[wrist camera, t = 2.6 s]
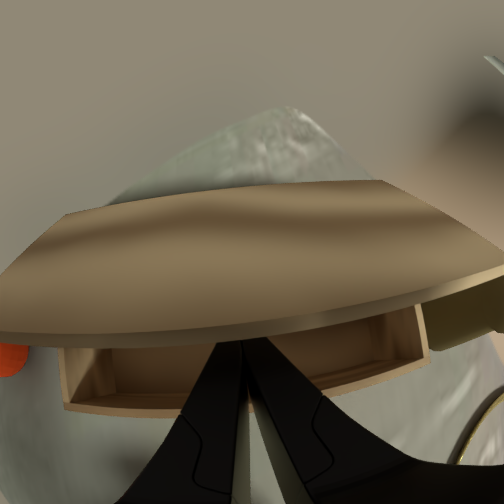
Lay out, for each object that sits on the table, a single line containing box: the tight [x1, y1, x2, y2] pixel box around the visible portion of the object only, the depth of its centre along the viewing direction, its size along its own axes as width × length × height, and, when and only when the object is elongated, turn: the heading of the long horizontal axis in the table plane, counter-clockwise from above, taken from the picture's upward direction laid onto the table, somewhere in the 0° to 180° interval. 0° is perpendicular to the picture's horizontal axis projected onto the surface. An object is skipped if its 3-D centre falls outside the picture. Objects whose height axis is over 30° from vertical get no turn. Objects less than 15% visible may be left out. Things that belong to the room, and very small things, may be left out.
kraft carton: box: [58, 304, 431, 418], centre depth 18 cm, size 12×22×8 cm, turn 98°
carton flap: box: [0, 180, 504, 349], centre depth 11 cm, size 11×21×1 cm
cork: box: [421, 275, 504, 351], centre depth 16 cm, size 6×6×11 cm
